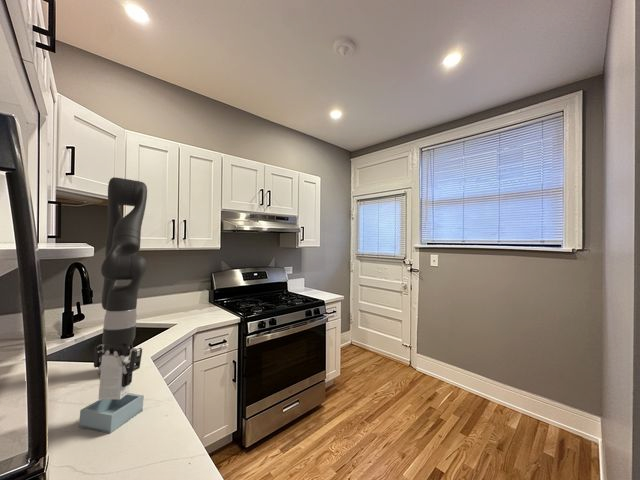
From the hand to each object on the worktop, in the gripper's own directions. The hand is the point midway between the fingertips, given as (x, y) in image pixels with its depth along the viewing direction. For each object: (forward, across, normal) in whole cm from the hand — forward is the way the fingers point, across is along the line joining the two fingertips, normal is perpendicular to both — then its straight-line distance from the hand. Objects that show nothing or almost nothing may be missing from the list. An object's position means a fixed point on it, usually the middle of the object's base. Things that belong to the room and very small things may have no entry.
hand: (115, 383), depth 74 cm
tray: (+10, 0, 0) cm, 10 cm away
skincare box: (+4, 0, 0) cm, 4 cm away
